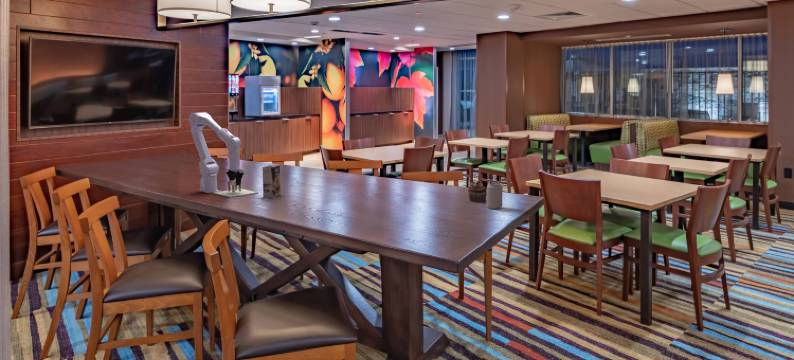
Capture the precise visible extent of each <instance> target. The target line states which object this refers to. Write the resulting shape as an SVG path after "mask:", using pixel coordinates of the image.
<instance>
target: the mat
mask: <svg viewBox="0 0 794 360" xmlns="http://www.w3.org/2000/svg"><path fill="white" fill-rule="evenodd" d="M213 194H215V195H218V196H221V197H222V196H223V197H227V198H230V199H231V198H237V196H238V197H243V196H244V195H245V196H249V195H250V196H251V195H257V194H259V192H258V191H257V192H256V191H253V190H249V189H245V188H241V191H239V188H237V190H236V191H235V192H232V189H231V191H228V190H223V191H222V190H220V191H219V192H213Z"/></svg>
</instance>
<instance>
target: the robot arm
mask: <svg viewBox="0 0 794 360" xmlns="http://www.w3.org/2000/svg"><path fill="white" fill-rule="evenodd" d="M188 122H189V124H190V125H189V129H190V133H191V136H192V139H193V141H194V145H195V148H196V150H197V153H198V155H199V159H200V161H199V162H198V167H199V168H198V169H199V174H200V175H201V177H200V180H199V183H200V186H199V187H200V189H199V190H198V191H199V192H202V193H206V194H210V193H214V192H221V190H220V189H218V182H217V181H218V179H217V176H218V173H219V172H220V166H219V165H218V163H217V162H216V160H215V159H214V158H213V157H212V156H211V153H210V151H209V149H208V145H207V142H206V140H205V137H204V133H203V128H205V126H208V128H210V129H211V130H213V131H214V132H215V133H216V135H217V137H218V138H219V139H220V141H222V142H223V143H225V147H226V148H227V152H228V166H226V167H225V174H226V176H227V178H228V181H233V180H235V181H236V185H237V187H239V185H240V184H241V185H242V179H243V176H244V174H245V171H244V169H243V168H242V167H241V160H240V159H241V158H240V157H241V156H240V154H241V153H240V147H241V146H242V140H241V139H240V137H238V136H235V135H234V134H232V133H231V132H230V131H229V130H228V128H222V127H221V126H220V125H219V124H218V123H217V122H216V121H215V120H214V119H213V118H212V115H210V114H209V113H208V112H206V111H203V112H191V114H190V115H189V117H188Z"/></svg>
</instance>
